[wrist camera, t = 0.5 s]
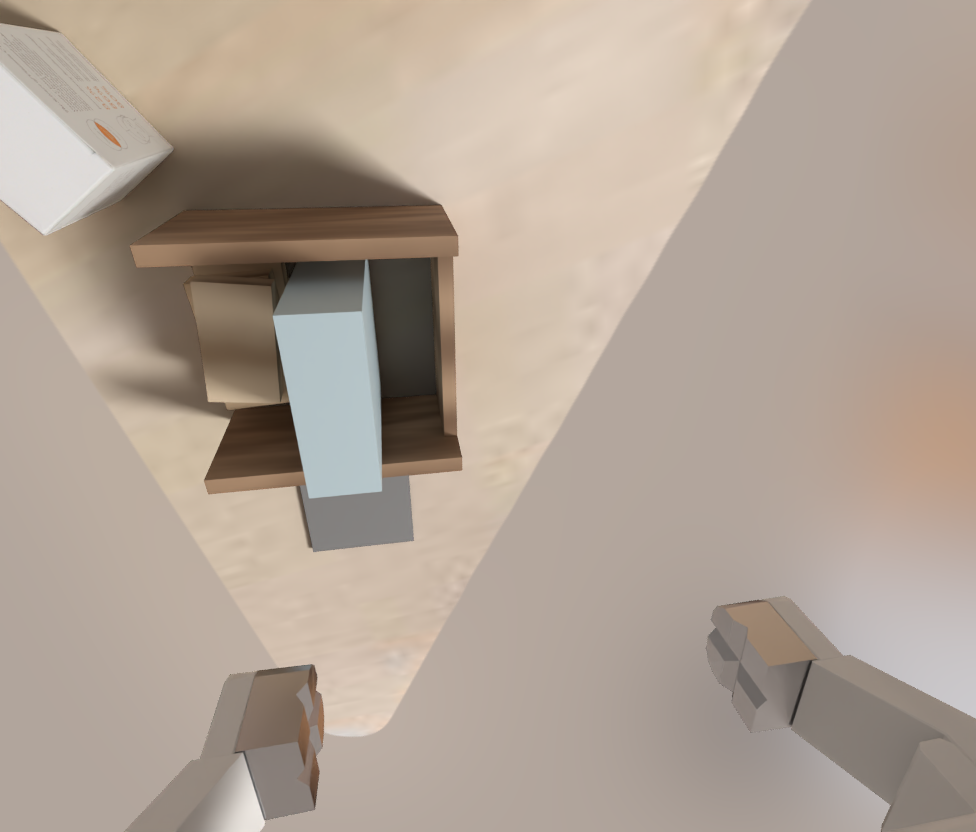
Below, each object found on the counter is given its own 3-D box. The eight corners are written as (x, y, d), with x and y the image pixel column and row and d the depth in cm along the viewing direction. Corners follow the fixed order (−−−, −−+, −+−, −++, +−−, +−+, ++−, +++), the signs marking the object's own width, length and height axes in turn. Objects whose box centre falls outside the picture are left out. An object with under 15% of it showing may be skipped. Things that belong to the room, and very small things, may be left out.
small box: (2, 93, 34) (-133, 96, 25) (63, 29, 33) (-55, 8, 24) (121, 203, 38) (42, 240, 29) (178, 150, 37) (115, 170, 28)
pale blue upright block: (305, 244, 41) (272, 315, 28) (366, 242, 42) (361, 311, 29) (327, 387, 47) (308, 498, 35) (380, 384, 48) (382, 491, 35)
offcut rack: (183, 210, 39) (129, 245, 30) (441, 205, 41) (458, 235, 33) (238, 421, 47) (208, 494, 39) (447, 405, 50) (462, 470, 42)
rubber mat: (289, 431, 49) (289, 434, 48) (404, 422, 50) (404, 424, 50) (313, 548, 56) (313, 551, 55) (413, 537, 57) (413, 540, 57)
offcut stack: (194, 253, 40) (171, 275, 36) (284, 251, 41) (272, 271, 37) (228, 388, 46) (212, 421, 41) (307, 383, 47) (299, 415, 42)
